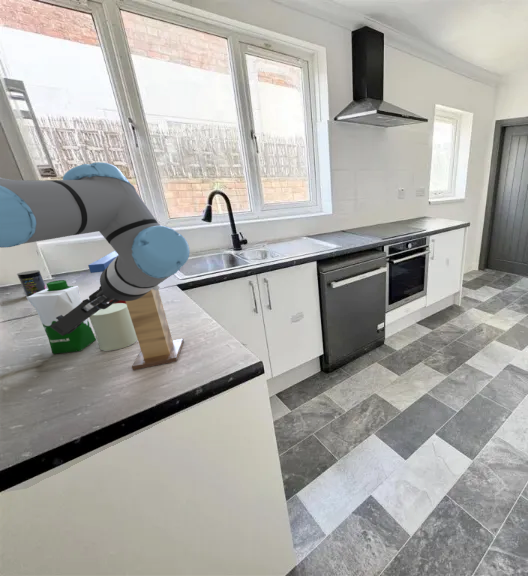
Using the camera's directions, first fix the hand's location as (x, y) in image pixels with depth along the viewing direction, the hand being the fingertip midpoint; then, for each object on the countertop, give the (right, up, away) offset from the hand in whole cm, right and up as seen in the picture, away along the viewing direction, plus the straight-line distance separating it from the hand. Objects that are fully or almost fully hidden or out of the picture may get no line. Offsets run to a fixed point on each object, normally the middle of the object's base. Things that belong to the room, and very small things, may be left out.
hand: (96, 307), depth 68 cm
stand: (0, -15, +19) cm, 24 cm away
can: (-18, -13, +27) cm, 35 cm away
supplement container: (-92, +1, +70) cm, 116 cm away
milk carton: (-30, -14, +25) cm, 41 cm away
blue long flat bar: (+2, +11, +4) cm, 12 cm away
